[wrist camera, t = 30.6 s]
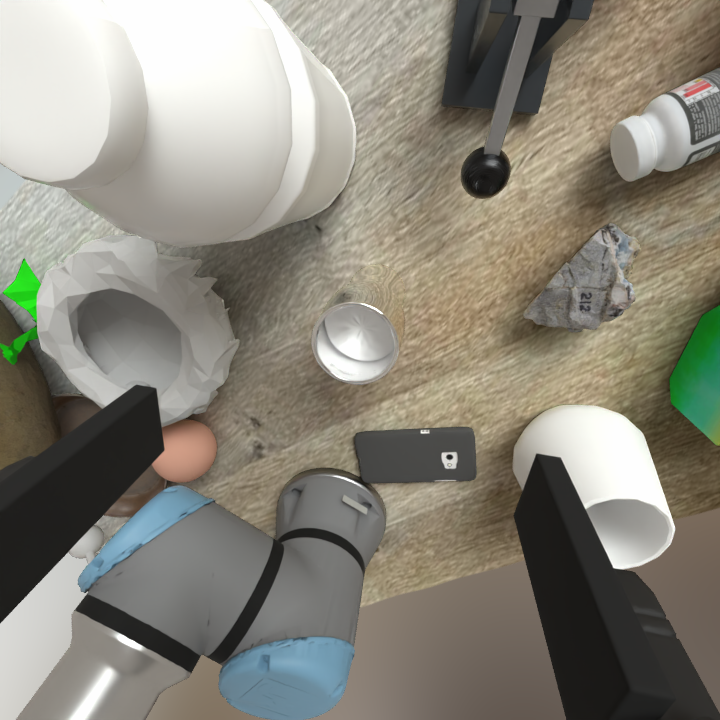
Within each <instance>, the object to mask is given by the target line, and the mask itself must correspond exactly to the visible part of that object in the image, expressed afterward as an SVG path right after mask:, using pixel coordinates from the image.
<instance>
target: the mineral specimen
mask: <svg viewBox="0 0 720 720" xmlns="http://www.w3.org/2000/svg"><path fill="white" fill-rule="evenodd" d="M640 250H641V248H640V243H639V242H638V240H637V239H636V238H635V237H630V236H628V235H627V234H624V232H623V231H622V230H621V229H620V227H618V226H617V225H616V224H613V223H609V224H607V225H605V226H604V227H603V228H600V229H599V230H597V231H596V232H595V234H594V235H593V237H591V238H590V239H589V241H588V242H586V243H585V244H584V245H582V247H581V249H580V250H579V251H578V252H577V253H576V254H575V255H574V256H573V257H572V258H571V259H570V261H569V262H566V263H565V264H564V265H563V266H562V267H561V268H560V270H559V271H558V272H557V273H556V274H555V275H554V276H553V278H552V279H551V280H550V281H549V283H548V284H547V285H546V287H545V288H544V290H542V291H541V292H540V293H539V294H538V295H537V296H536V297H535V298H534V299H533V300H532V301H531V302H530V304H529V305H528V306H527V308H526V309H525V310H524V312H523V315H524V318H527V319H532V320H533V321H534V322H535V323H536V324H537V325H539V324H542V325H545V326H549V327H566V328H567V330H568V331H569V332H580V331H582V330H583V329H597V328H598V327H599V326H600V324H601V323H602V322H604V321H611V320H613V319H615V318H617V317H618V316H620V315H622V314H623V312H624V310H626V309H628V308H629V307H630V306H631V304H632V303H633V302H634V301H635V292H634V291H633V289H632V287H633V285H632V284H631V283H630V282H628V281H627V280H626V279H627V278H628V277H629V276H630V274H632V273H631V270H632V269H633V267H632V263H633V261H634V258H635V257H636V256H637V254H638V252H639V251H640Z"/></svg>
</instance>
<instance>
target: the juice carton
mask: <svg viewBox="0 0 720 720" xmlns="http://www.w3.org/2000/svg"><path fill="white" fill-rule="evenodd" d="M669 382H670V396H671V404H672V405H673V406H675V407H676V408H677V409H678V410H679V411H680V412H681V413H682V414H683V415H684V416H685V417H686V418H688V419H689V420H690V421H691V422H692V423H693V424H694V425H695V426H696V427H697V428H698V429H699V430H700V431H702V432H703V433H704V434H705V435H706V436H707V437H708V438H709V439H710V440H711V441H712V442H713V443H714V444H716V445H718V446H720V305H719V306H717V307H716V308H714V309H712V310H710V311H709V312H707V313H705V314H703V315H702V317H701V319H700V321H699V322H698V324H697V326H696V328H695V330H694V332H693V334H692V336H691V338H690V340H689V342H688V344H687V346H686V348H685V350H684V352H683V354H682V355H681V357H680V359H679V361H678V363H677V365H676V367H675V369H674V371H673V373H672V375H671V377H670V379H669Z"/></svg>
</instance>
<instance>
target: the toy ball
mask: <svg viewBox="0 0 720 720" xmlns="http://www.w3.org/2000/svg"><path fill="white" fill-rule="evenodd" d="M162 433H163V441H164V448H165V451H164V452H163V453H162V454H161V455H160V456H159V457H158V458H157V459H156V460H155V461H154V462H153V463H152V466H153V468H154V470H155V471H156V472H157V473H158V474H159V475H160V476H161V477H163V478H164V479H166V480H169V481H172V482H178V483H183V482H190V481H193V480H195V479H196V478H198V477H200V476H202V475H203V474H204V473H206V472H207V471H208V470H209V469H210V467H211V466H212V464H213V463H214V460H215V458H216V453H217V443H216V439H215V436H214V434H213V433H212V431H211V430H210V429H209V428H208V427H207V426H206V425H204V424H202V423H200V422H198V421H194V420H180V421H177V422H175V423H172V424H170V425H167V426H164V427H163V428H162Z"/></svg>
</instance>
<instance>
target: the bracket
mask: <svg viewBox="0 0 720 720" xmlns="http://www.w3.org/2000/svg"><path fill="white" fill-rule="evenodd" d="M593 2H594V0H560V2H559V5H558V8H557V11H556V14H555V17H554V18H544V17H541V20H540V23H539V27H538V30H537V33H536V37H535V40H534V43H533V46H532V50H531V53H530V56H529V59H528V63H527V66H526V69H525V73H524V76H523V79H522V82H521V86H520V89H519V92H518V96H517V99H516V102H515V105H514V109H513V112H512V113H515V114H525V115H536V114H538V111H539V107H540V103H541V99H542V95H543V91H544V87H545V83H546V80H547V76H548V72H549V68H550V64H551V60H552V56H553V53H554V52H555V51H556V50H557V49H558V48H559V47H561V46H562V45H563V44H564V43H565V42H566V41H567V40H568V39H569V38H570V37H571V36H572V35H573V34H574V33H575V32H576V31H577V30H578V29H579V28H580V27H581V26H582V25H583V24H584V23H585V22H587V21H588V19H589V16H590V13H591V9H592V5H593ZM518 18H519V16H517V15H513V10H512V0H458V5H457V11H456V18H455V24H454V30H453V36H452V42H451V49H450V55H449V61H448V67H447V73H446V79H445V86H444V92H443V98H442V104H441V106H443V107H453V108H463V109H474V110H484V111H494V107H495V104H496V100H497V96H498V93H499V89H500V85H501V81H502V78H503V74H504V70H505V66H506V63H507V59H508V55H509V52H510V48H511V44H512V40H513V37H514V33H515V29H516V25H517V22H518Z"/></svg>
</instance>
